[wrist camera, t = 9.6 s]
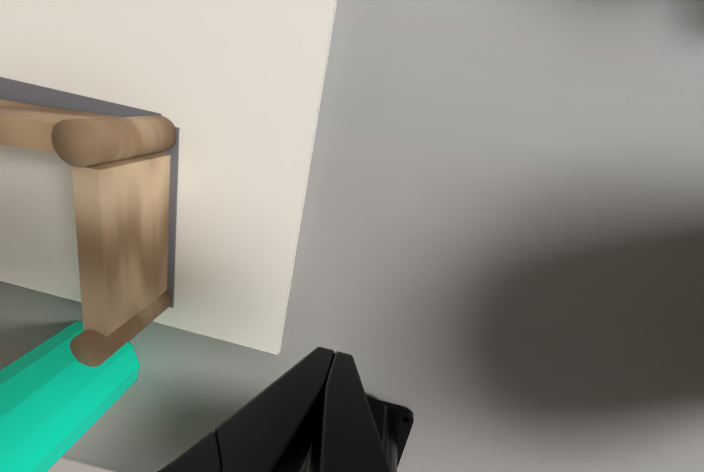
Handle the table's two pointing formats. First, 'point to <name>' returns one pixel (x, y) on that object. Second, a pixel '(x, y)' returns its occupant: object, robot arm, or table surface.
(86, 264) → the fence fixed
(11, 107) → the fence gate
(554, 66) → the table surface
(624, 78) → the table surface
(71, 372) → the candle
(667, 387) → the table surface
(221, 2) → the board
